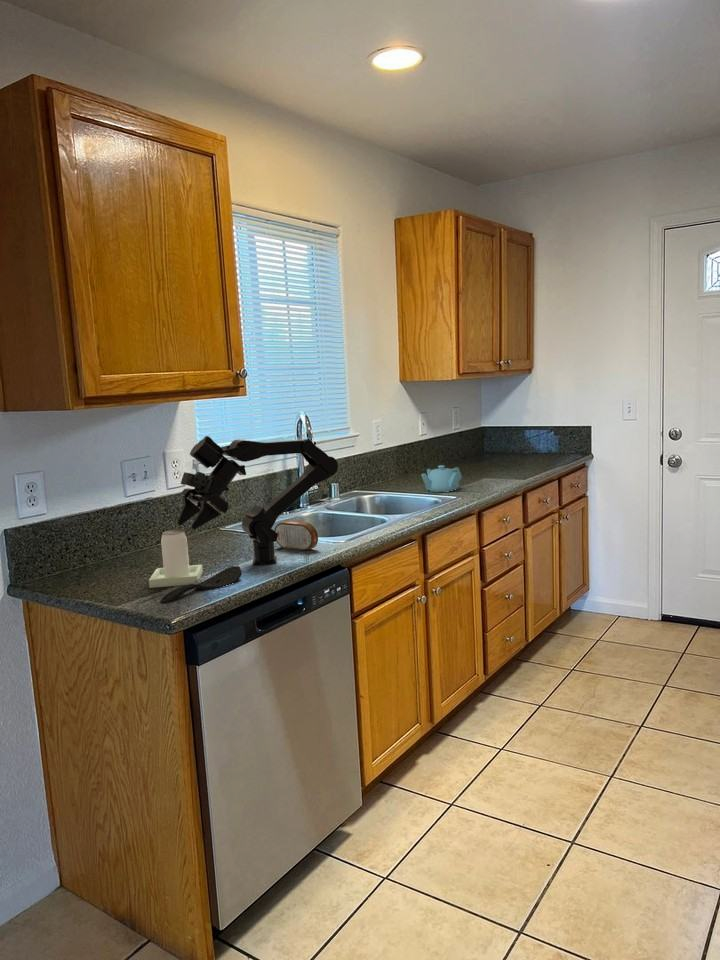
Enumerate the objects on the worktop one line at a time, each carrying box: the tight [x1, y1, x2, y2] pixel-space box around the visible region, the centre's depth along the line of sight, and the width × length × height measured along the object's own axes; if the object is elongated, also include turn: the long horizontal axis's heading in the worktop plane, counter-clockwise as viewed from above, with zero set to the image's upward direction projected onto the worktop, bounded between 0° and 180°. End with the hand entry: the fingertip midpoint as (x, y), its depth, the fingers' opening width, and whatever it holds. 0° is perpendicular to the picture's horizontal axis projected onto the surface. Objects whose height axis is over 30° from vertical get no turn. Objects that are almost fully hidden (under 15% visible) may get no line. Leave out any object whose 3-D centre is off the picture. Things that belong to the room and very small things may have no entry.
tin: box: [273, 519, 319, 551], centre depth 220 cm, size 15×3×8 cm, turn 56°
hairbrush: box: [159, 563, 243, 604], centre depth 182 cm, size 8×4×25 cm
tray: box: [148, 564, 204, 589], centre depth 193 cm, size 12×12×2 cm
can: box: [160, 529, 190, 578], centre depth 192 cm, size 6×6×12 cm
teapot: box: [421, 464, 463, 491], centre depth 312 cm, size 15×15×11 cm
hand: (185, 526), depth 193 cm, fingers open, 9 cm apart
